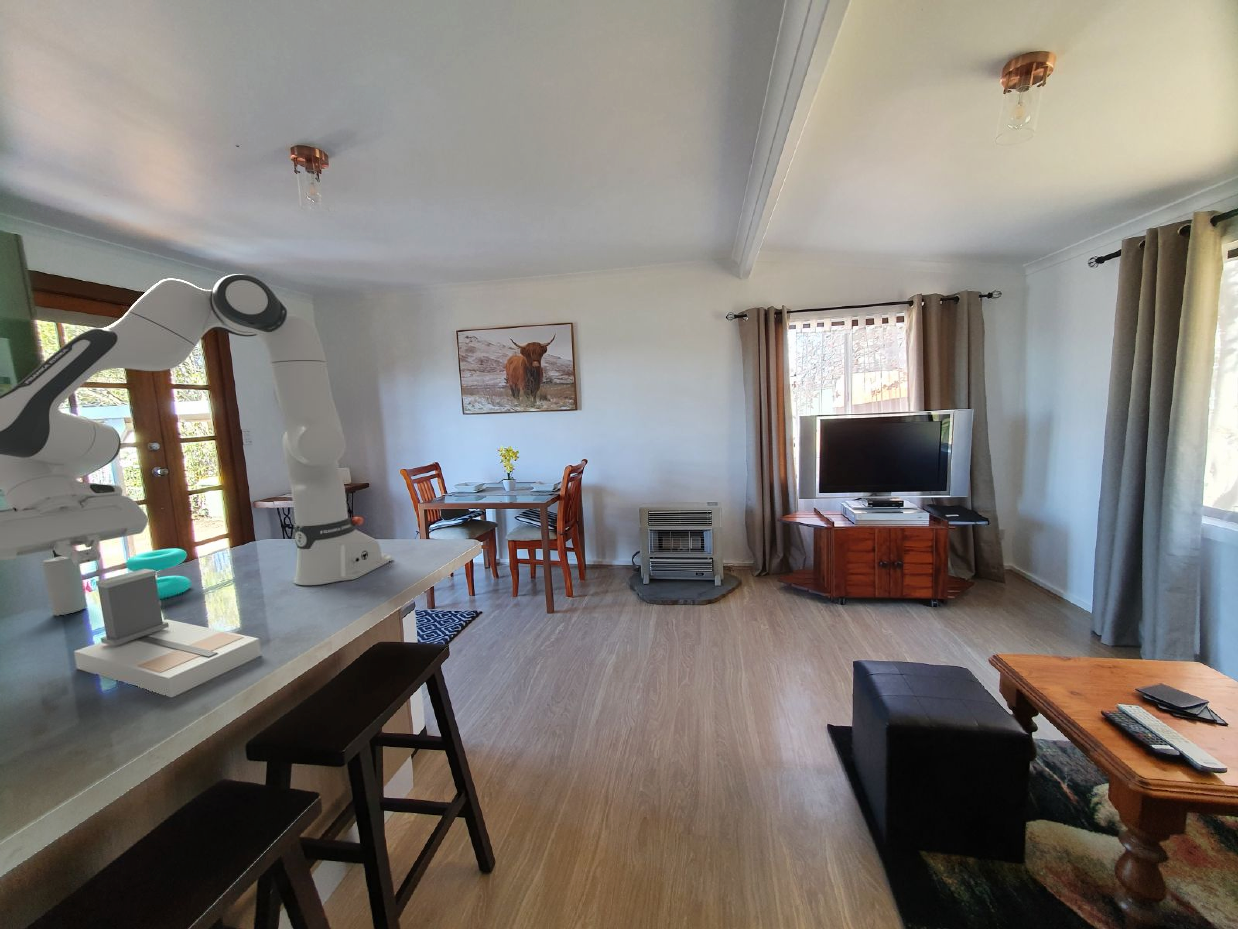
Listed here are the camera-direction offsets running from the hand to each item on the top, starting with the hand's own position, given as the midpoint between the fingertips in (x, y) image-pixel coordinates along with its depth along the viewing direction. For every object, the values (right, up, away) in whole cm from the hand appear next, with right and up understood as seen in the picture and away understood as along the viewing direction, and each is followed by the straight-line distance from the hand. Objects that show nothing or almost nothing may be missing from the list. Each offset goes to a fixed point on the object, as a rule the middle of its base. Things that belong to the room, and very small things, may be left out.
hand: (88, 560), depth 81 cm
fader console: (+20, -16, -5) cm, 26 cm away
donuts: (-13, -14, +26) cm, 32 cm away
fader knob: (+11, -12, -3) cm, 17 cm away
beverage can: (-24, -15, +17) cm, 33 cm away
